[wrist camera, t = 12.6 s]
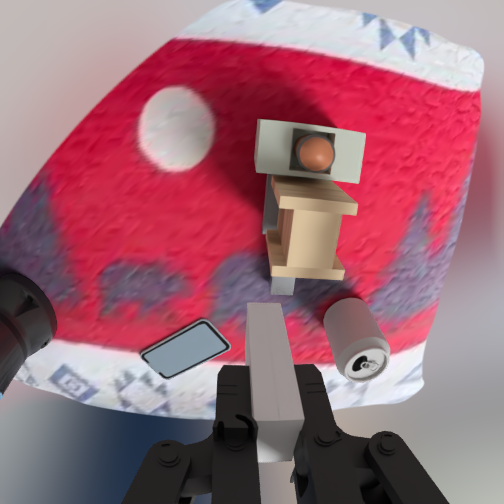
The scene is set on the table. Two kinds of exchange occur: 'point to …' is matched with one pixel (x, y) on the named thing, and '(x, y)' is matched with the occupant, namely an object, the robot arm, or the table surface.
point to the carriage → (304, 226)
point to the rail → (281, 285)
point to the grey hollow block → (285, 163)
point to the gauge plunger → (314, 153)
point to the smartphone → (186, 349)
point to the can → (356, 340)
